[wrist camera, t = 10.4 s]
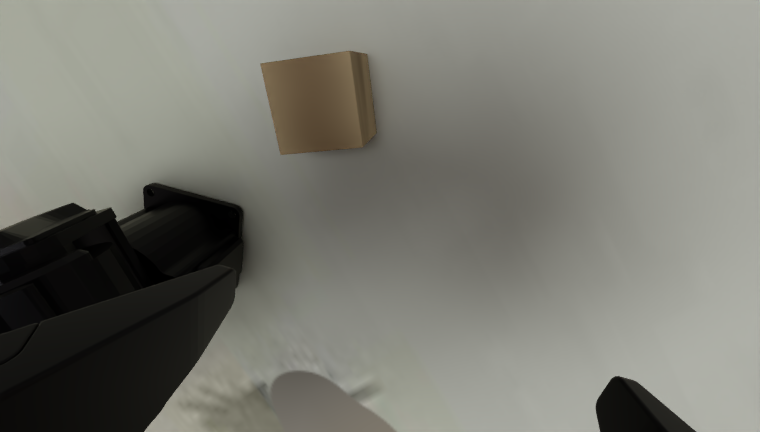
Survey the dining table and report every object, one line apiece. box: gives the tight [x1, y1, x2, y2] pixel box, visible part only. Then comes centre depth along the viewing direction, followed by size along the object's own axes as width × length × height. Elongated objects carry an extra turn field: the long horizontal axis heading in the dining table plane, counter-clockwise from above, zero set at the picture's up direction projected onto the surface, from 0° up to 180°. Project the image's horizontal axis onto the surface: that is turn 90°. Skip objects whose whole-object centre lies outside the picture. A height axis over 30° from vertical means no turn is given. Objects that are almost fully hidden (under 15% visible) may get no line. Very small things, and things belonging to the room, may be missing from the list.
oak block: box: [261, 51, 377, 155], centre depth 18 cm, size 4×4×4 cm
